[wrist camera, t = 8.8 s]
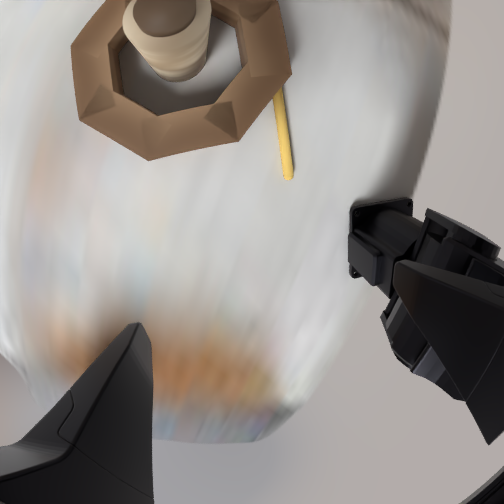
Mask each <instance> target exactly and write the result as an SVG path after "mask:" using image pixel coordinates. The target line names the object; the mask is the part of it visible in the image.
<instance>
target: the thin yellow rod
mask: <svg viewBox="0 0 504 504" xmlns="http://www.w3.org/2000/svg"><path fill="white" fill-rule="evenodd" d="M273 103H274V110H275V117H276V124H277V130H278V138H279V145H280V152H281V160H282V168H283V176H284V178H285V179H286V180H291V179H292V178H293V176H294V175H293V166H292V158H291V150H290V142H289V134H288V127H287V120H286V113H285V106H284V99H283V93H282V87H281V88H280V89H279V90H278V92H277V93H276V94H275V95H274V97H273Z"/></svg>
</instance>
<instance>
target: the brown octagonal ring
mask: <svg viewBox="0 0 504 504" xmlns="http://www.w3.org/2000/svg"><path fill="white" fill-rule="evenodd" d="M131 1H132V0H106V1H105V2H104V3H103V4H102V6H101V7H100V8H99V9H98V10H97V12H96V13H95V14H94V15H93V16H92V18H91V19H90V20H89V21H88V23H87V24H86V25H85V27H84V28H83V29H82V31H81V32H80V33H79V35H78V36H77V37H76V39H75V40H74V42H73V43H72V45H71V58H72V70H73V80H74V88H75V96H76V103H77V110H78V116H79V120H80V121H81V122H83V123H85V124H87V125H88V126H90V127H92V128H94V129H95V130H97V131H99V132H100V133H102V134H104V135H105V136H107V137H109V138H111V139H112V140H114V141H116V142H117V143H119V144H121V145H122V146H124V147H126V148H127V149H129V150H131V151H132V152H134V153H136V154H137V155H139V156H141V157H142V158H144V159H146V160H147V161H151V160H155V159H158V158H162V157H166V156H170V155H175V154H179V153H183V152H188V151H192V150H197V149H202V148H206V147H211V146H217V145H222V144H227V143H233V142H239V140H240V139H241V138H242V136H243V135H244V134H245V132H246V131H247V130H248V128H249V127H250V126H251V125H252V123H253V122H254V121H255V119H256V118H257V117H258V115H259V114H260V113H261V112H262V110H263V109H264V108H265V107H266V105H267V104H268V103H269V102H270V100H271V99H272V98H273V97H274V95H275V94H276V93H277V92H278V90H279V89H280V88H281V87H282V86H283V84H284V83H285V82H286V81H287V80H288V78H289V77H290V76H291V75H292V71H291V65H290V59H289V53H288V48H287V43H286V37H285V32H284V27H283V23H282V18H281V13H280V8H279V4H278V1H277V0H210V3H211V9H212V10H211V15H213V16H215V17H217V18H218V19H220V20H222V21H224V22H225V23H227V24H229V25H230V26H232V27H234V28H235V31H236V36H237V42H238V48H239V54H240V59H241V65H242V70H241V71H240V72H239V73H238V74H237V76H236V77H235V78H234V79H233V80H232V82H231V83H230V84H229V85H228V87H227V88H226V89H225V90H224V92H223V93H222V94H221V95H220V97H219V98H218V99H217V101H216V102H215V103H214V104H210V105H205V106H200V107H195V108H190V109H185V110H181V111H176V112H172V113H168V114H164V115H160V116H159V115H157V114H156V113H154V112H152V111H151V110H149V109H147V108H145V107H144V106H142V105H140V104H139V103H137V102H135V101H133V100H132V99H130V98H128V97H126V96H124V92H123V85H122V79H121V71H120V63H119V55H118V53H119V52H120V50H121V49H122V48H123V46H124V45H125V44H126V43H127V41H128V40H129V39H128V38H127V36H126V35H125V33H124V30H123V15H124V12H125V10H126V8H127V6H128V5H129V3H130V2H131Z"/></svg>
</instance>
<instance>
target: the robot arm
mask: <svg viewBox="0 0 504 504" xmlns="http://www.w3.org/2000/svg"><path fill="white" fill-rule="evenodd" d="M407 203H408V205H407ZM356 211H358V212H357V214H356V215H355V212H356ZM412 214H413V201H412V199H410V198H407V197H406V198H400V199H394V200H388V201H382V202H376V203H371V204H365V205H359V206H354V207H352V208H351V210H350V233H349V235H348V262H349V263H350V265H349V274H350V276H351V277H352V278H359V277H364V278H365V279H366V280H367V281H368V282H369V284H371V285H372V286H377V287H378V288H379V289H380V290H381V291H382V292H383V293H384V294H385V295H386V296H387V297H388V298H389V299H391V300H390V302H389V304H388V306H387V307H386V309H385V310H384V311H383V313H382V315H381V316H380V318H381V320H382V323H383V325H384V328H385V331H386V333H387V336H388V339H389V342H390V345H391V348H392V350H393V352H394V354H395V356H396V357H397V359H398V360H399V361H400V362H401V363H402V364H404V365H405V366H406V367H408V368H410V371H411V372H412V373H414V374H416V375H419V376H422V377H424V378H426V379H428V380H430V381H431V382H433V383H435V384H436V385H438V386H439V387H440V388H442V389H443V390H444V391H445V392H446V393H448V394H449V395H450V396H451V397H452V398H453V399H456V400H461V401H465V402H466V404H467V406H468V408H469V410H470V412H471V413H472V415H473V417H474V419H475V421H476V423H477V425H478V427H479V429H480V431H481V433H482V435H483V437H484V439H485V441H486V443H487V444H488V445H490V444H491V443H492V442H493V441H494V440H495V439H496V438H498V436H500V435H501V434H502V433H503V432H504V261H503V260H501V259H500V258H498V257H497V256H498V254H499V251H500V249H501V248H500V247H499V246H498V245H497V244H495V243H494V242H492V241H491V240H489V239H488V238H486V237H485V236H484V235H482V234H480V233H479V232H477V231H475V230H473V229H471V228H470V227H468V226H466V225H464V224H462V223H460V222H458V221H456V220H453V219H451V218H449V217H447V216H445V215H442V214H440V213H438V212H436V211H433V210H431V209H429V208H427V210H426V213H425V216H426V217H425V220H424V223H423V222H421V221H419V220H417V219H416V218H413V217H412ZM355 271H356V273H355V274H354V272H355ZM152 410H153V369H152V347H151V342H150V339H149V337H148V335H147V333H146V331H145V329H144V327H143V325H142V324H141V323H140V322H137V323H131V324H128V325H127V326H126V328H125V329H124V330H123V331H122V332H121V333H120V334H119V335H118V336H117V337H116V338H115V339H114V340H113V341H112V343H111V344H110V345H109V346H108V347H107V348H106V349H105V350H104V351H103V352H102V353H101V354H100V356H99V357H98V358H97V359H96V360H95V361H94V362H93V363H92V364H91V365H90V367H89V368H88V369H87V370H86V371H85V372H84V373H83V374H82V375H81V377H80V378H79V379H78V380H77V381H76V382H75V383H74V384H73V386H72V387H71V388H70V390H68V391H67V392H66V394H65V395H64V396H63V397H62V398H61V399H60V400H59V401H58V403H57V404H56V405H55V406H54V407H53V408H52V409H51V410H50V411H49V412H48V413H47V414H46V415H45V416H44V417H43V418H42V419H41V420H40V421H39V422H38V423H37V424H36V425H35V426H34V427H33V428H32V429H31V430H30V431H29V432H28V433H27V434H26V435H25V436H24V437H23V438H22V439H21V440H19V441H18V442H16V443H14V444H12V445H8V446H2V447H0V504H154V499H153V498H154V495H153V476H152V475H153V473H152ZM459 504H504V466H503V467H502V468H501V469H500V470H499V471H498V472H497V473H496V474H495V475H494V476H492V477H491V478H490V479H489V480H488V481H487V482H486V483H485V484H484V485H482V486H481V487H480V488H479V489H477V490H476V491H475V492H474V493H473V494H471V495H470V496H469V497H467V498H466V499H465V500H464V501H462V502H461V503H459Z"/></svg>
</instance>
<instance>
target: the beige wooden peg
mask: <svg viewBox="0 0 504 504" xmlns="http://www.w3.org/2000/svg"><path fill="white" fill-rule="evenodd" d="M211 10H212V9H211V3H210V0H132V1H131V2H130V3H129V5H128V6H127V8H126V10H125V12H124V15H123V30H124V33H125V35H126V36H127V38H128V39H129V40H130V41H131V43H132V44H133V45H134V46H135V47H136V49H137V50H138V51H139V52H140V54H141V55H142V56H143V57H144V58H145V60H146V61H147V62H148V63H149V65H150V66H151V67H152V68H153V70H154V71H155V72H156V73H157V75H158V76H160V77H161V78H162V79H164V80H167V81H170V82H182V81H186V80H189V79H191V78H193V77H194V76H196V75H197V74H198V73H199V72H200V71H201V70H202V68H203V67H204V65H205V62H206V56H207V46H208V36H209V27H210V19H211Z"/></svg>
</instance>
